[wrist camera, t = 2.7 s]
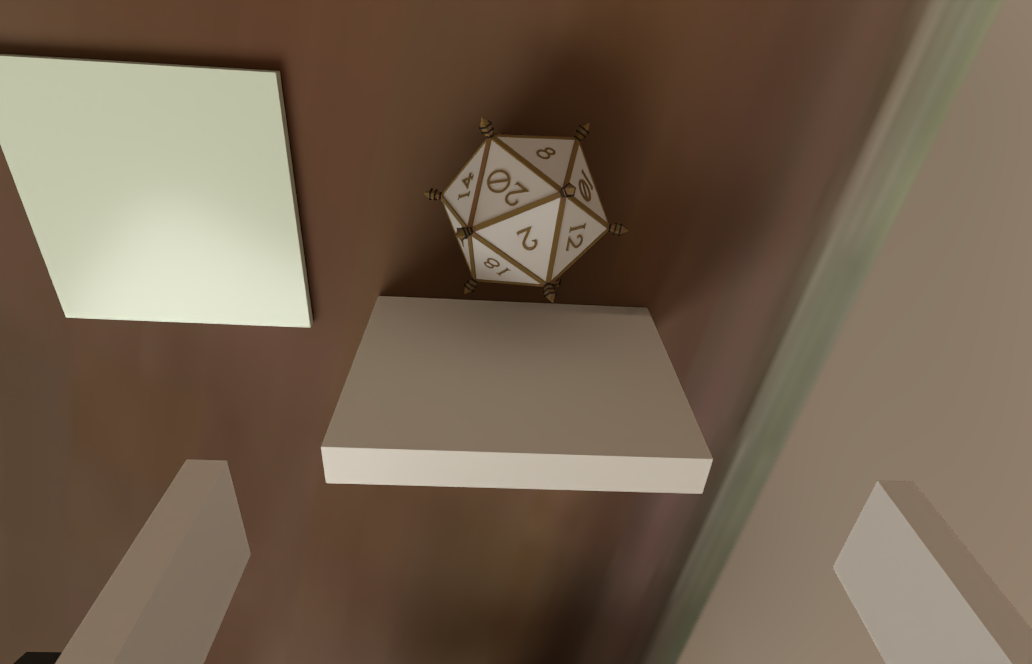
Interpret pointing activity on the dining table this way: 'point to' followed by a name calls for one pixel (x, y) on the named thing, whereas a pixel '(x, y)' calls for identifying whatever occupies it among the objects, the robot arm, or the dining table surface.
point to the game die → (525, 209)
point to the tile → (158, 189)
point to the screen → (514, 401)
